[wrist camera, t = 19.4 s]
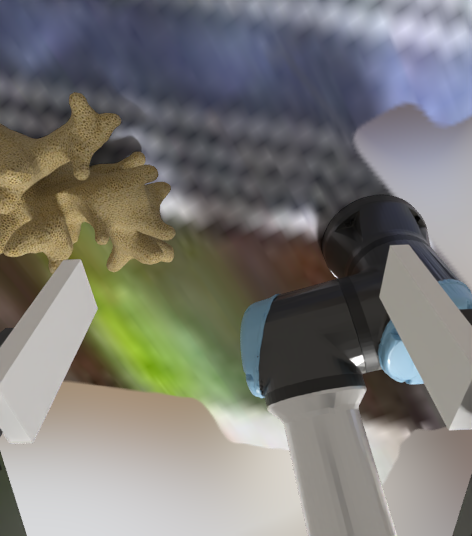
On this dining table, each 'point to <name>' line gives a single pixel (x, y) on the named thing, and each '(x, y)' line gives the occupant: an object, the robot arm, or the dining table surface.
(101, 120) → the decorative coral
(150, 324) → the dining table surface
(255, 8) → the dining table surface
